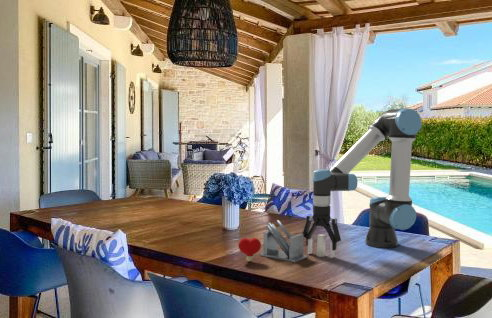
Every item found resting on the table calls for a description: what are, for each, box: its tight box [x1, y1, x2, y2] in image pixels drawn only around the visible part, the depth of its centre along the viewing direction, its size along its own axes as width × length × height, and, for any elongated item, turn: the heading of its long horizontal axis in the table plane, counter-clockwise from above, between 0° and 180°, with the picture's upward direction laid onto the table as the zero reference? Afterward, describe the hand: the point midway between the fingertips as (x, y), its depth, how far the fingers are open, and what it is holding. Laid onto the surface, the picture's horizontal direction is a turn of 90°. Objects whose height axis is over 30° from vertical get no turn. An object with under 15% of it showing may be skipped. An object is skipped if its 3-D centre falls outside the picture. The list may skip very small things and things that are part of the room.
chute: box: [259, 219, 308, 263], centre depth 212 cm, size 18×10×15 cm, turn 53°
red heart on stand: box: [238, 237, 262, 263], centre depth 203 cm, size 9×7×10 cm
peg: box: [316, 234, 326, 258], centre depth 213 cm, size 4×4×9 cm
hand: (320, 255), depth 213 cm, fingers open, 10 cm apart
